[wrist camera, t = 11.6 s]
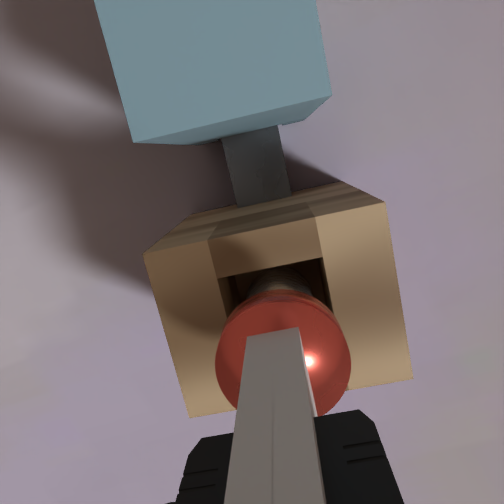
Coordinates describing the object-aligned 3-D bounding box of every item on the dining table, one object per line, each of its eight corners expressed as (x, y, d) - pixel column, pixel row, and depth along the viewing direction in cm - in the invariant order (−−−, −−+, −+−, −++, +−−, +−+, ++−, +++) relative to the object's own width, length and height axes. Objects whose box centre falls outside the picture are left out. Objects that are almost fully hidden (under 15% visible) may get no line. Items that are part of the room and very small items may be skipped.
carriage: (171, 32, 24) (71, -81, 12) (281, 3, 23) (289, -146, 11) (199, 145, 25) (132, 142, 13) (303, 120, 24) (332, 95, 13)
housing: (190, 214, 26) (142, 254, 16) (341, 181, 25) (385, 202, 16) (218, 322, 28) (189, 418, 18) (362, 295, 27) (413, 378, 17)
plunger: (223, 262, 19) (199, 317, 13) (316, 243, 18) (338, 289, 12) (244, 347, 20) (232, 436, 14) (334, 330, 19) (361, 414, 13)
